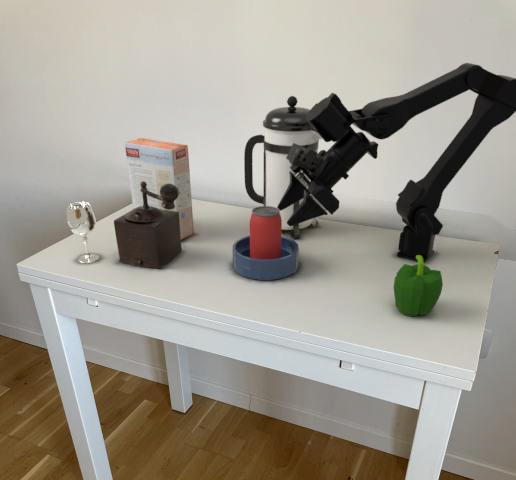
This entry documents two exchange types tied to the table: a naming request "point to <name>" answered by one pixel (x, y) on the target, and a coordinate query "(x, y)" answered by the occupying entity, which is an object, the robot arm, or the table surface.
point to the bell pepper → (417, 288)
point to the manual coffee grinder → (150, 231)
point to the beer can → (265, 233)
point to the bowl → (265, 260)
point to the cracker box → (161, 176)
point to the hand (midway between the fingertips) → (283, 216)
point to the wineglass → (82, 225)
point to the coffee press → (280, 157)
